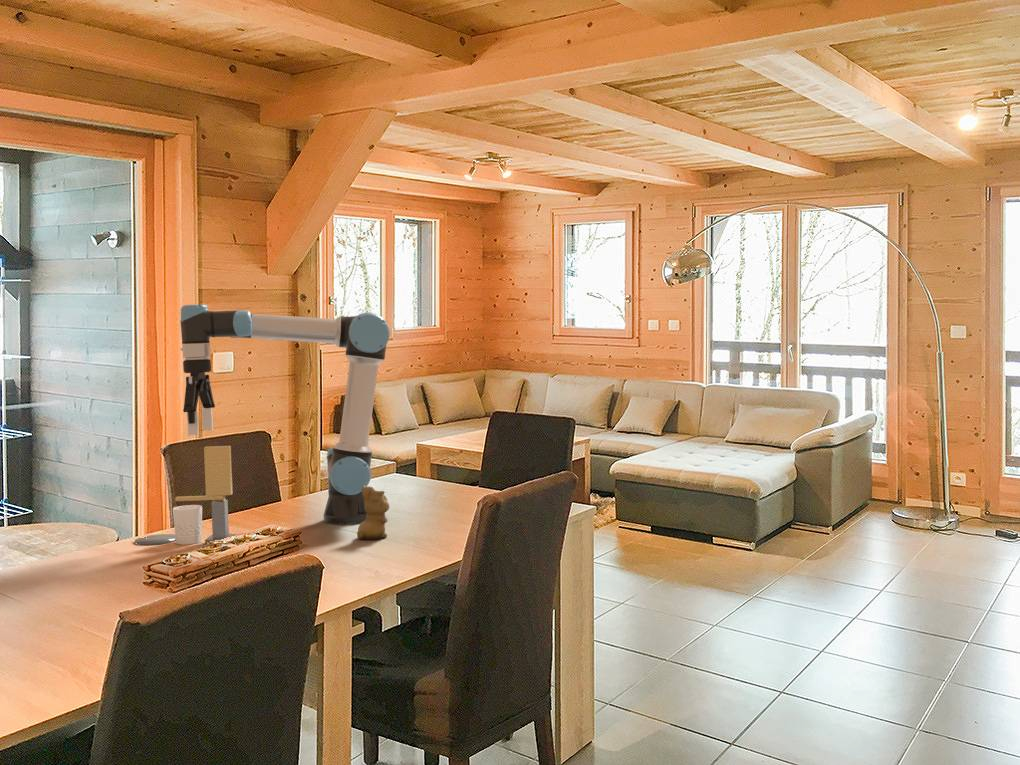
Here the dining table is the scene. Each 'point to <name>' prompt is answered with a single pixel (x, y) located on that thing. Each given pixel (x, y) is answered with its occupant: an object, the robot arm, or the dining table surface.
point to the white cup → (188, 524)
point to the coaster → (156, 539)
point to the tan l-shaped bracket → (215, 474)
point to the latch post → (219, 521)
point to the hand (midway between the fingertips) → (201, 432)
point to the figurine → (373, 515)
